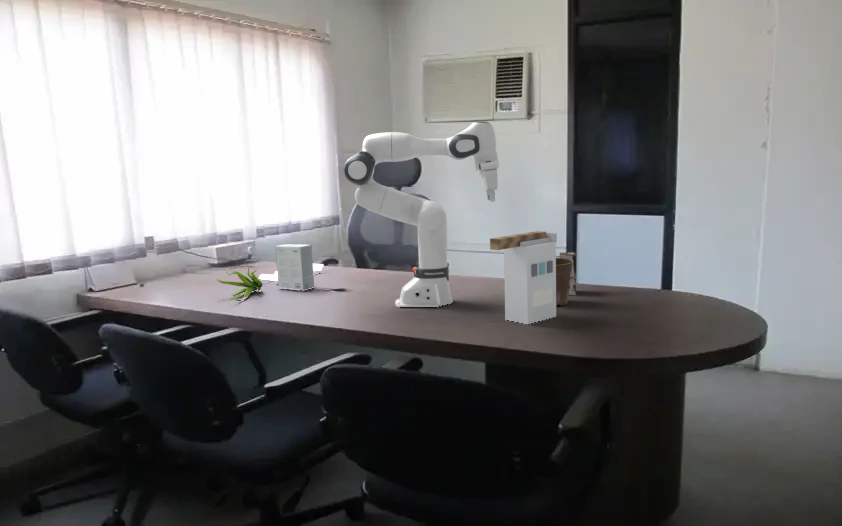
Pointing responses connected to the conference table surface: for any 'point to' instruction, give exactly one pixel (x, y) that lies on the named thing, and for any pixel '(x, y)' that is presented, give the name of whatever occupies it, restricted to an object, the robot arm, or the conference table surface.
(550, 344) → the conference table surface
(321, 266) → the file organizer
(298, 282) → the hard drive box
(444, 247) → the robot arm
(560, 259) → the plant pot
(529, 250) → the switch console stand
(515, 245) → the lever bar
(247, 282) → the decorative plant
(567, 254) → the coffee box
